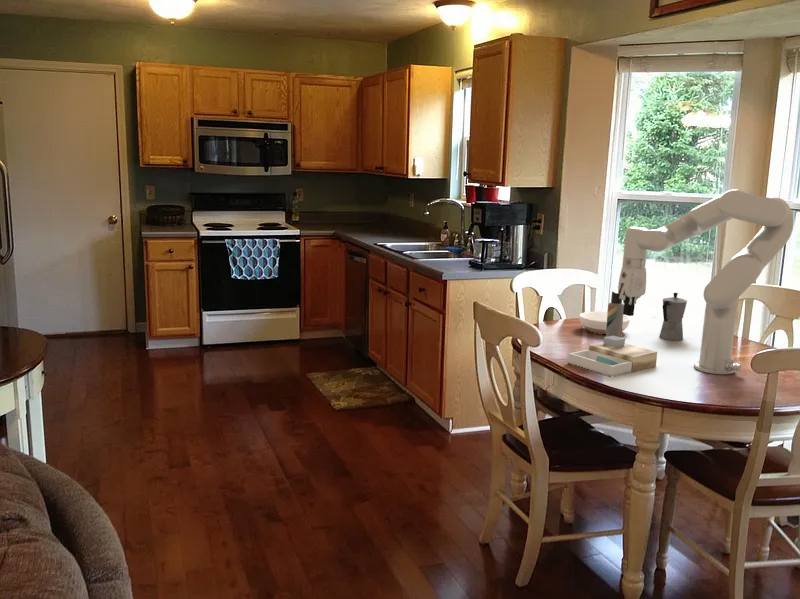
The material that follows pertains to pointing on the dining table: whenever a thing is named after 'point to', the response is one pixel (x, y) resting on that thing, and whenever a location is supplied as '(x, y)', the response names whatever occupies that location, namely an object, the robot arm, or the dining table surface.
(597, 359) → the teal tile
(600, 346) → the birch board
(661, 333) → the coffeepot
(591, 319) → the bowl
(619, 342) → the slate tile
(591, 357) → the box
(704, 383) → the dining table surface
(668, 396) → the dining table surface
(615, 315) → the lotion bottle
